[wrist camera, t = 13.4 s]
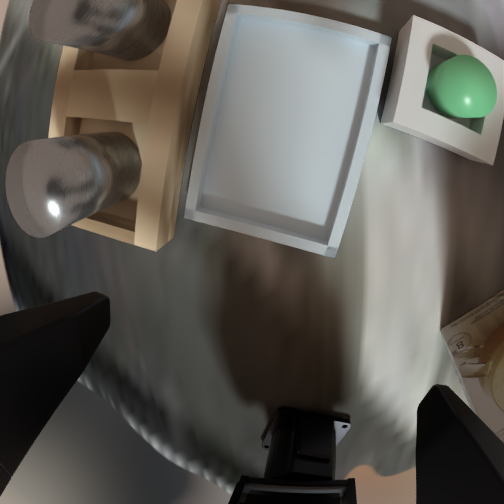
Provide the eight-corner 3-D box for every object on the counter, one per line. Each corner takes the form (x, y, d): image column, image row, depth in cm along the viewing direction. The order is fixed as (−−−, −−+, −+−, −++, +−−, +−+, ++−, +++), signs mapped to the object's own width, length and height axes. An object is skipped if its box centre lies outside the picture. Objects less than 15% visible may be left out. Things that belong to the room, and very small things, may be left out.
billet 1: (179, -6, 13) (116, -55, 7) (161, 61, 15) (85, 34, 9) (117, -1, 14) (46, -33, 8) (100, 61, 16) (20, 47, 9)
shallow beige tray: (173, 237, 20) (156, 251, 18) (68, 207, 21) (45, 216, 19) (227, -20, 14) (215, -38, 11) (105, -12, 14) (84, -23, 12)
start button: (468, 127, 13) (491, 127, 10) (421, 105, 13) (438, 101, 11) (477, 77, 12) (500, 72, 9) (430, 54, 12) (448, 44, 10)
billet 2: (137, 209, 19) (64, 248, 12) (82, 195, 19) (7, 225, 13) (147, 135, 17) (67, 145, 11) (88, 128, 17) (6, 138, 11)
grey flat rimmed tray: (333, 249, 19) (334, 258, 17) (192, 212, 19) (183, 217, 18) (386, 44, 14) (391, 37, 12) (234, 12, 14) (228, 3, 13)
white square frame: (468, 159, 15) (493, 165, 12) (380, 123, 15) (393, 121, 13) (485, 71, 13) (510, 64, 10) (399, 31, 13) (413, 14, 10)
